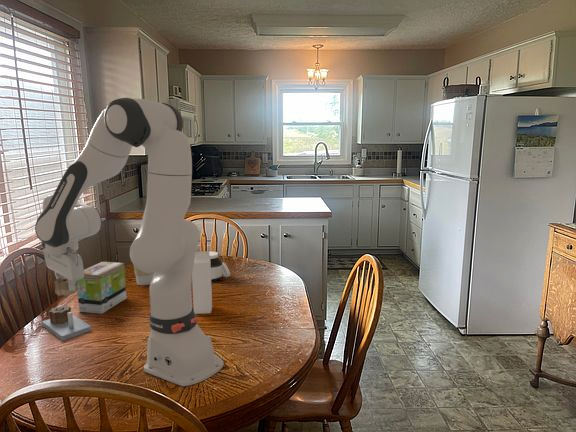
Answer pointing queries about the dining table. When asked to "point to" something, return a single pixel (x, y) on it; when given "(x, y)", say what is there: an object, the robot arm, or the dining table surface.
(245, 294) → the dining table surface
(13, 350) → the dining table surface
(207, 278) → the milk
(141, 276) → the coffee cup
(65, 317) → the walnut gear
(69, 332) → the gear board
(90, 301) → the tea box
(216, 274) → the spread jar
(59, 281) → the birch gear
